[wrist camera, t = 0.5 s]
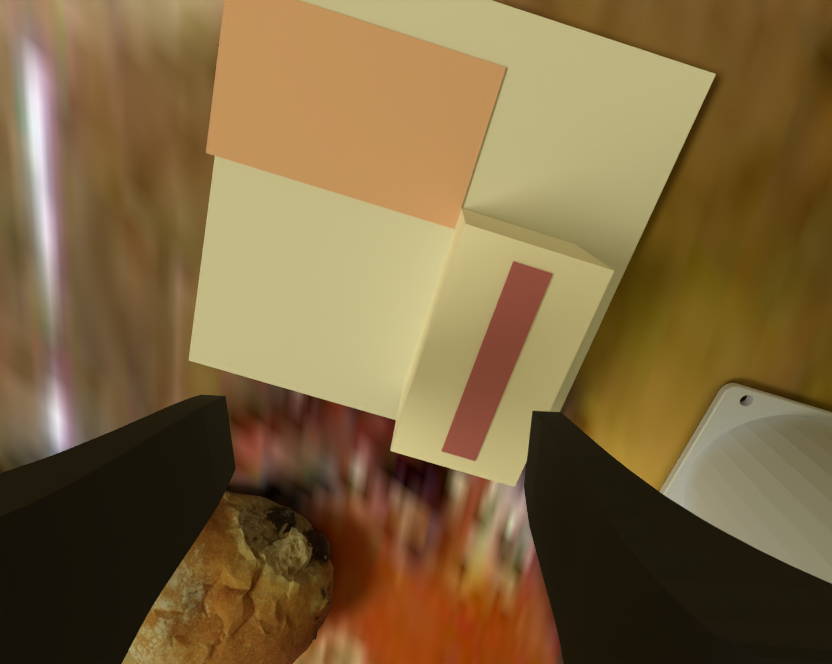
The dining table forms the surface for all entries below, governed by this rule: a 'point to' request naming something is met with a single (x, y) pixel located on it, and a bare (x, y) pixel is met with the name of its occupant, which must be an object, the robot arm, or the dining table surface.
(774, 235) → the dining table surface
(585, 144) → the mat
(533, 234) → the card box
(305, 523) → the bread roll
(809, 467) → the robot arm
